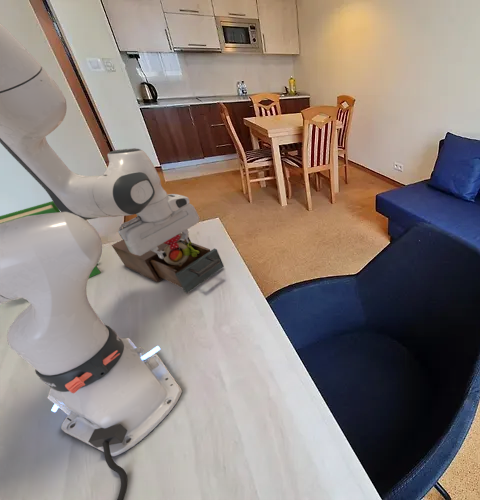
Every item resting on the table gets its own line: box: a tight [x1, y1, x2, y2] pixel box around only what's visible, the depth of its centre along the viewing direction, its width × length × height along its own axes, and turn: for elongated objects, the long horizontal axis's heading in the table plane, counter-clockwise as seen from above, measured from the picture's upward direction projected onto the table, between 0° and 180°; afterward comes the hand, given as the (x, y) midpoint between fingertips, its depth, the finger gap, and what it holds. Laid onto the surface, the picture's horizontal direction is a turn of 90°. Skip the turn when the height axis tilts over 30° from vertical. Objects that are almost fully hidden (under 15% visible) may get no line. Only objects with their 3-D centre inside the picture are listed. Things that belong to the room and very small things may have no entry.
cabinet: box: [111, 233, 192, 283], centre depth 100 cm, size 20×15×9 cm
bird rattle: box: [164, 235, 200, 267], centre depth 90 cm, size 6×11×9 cm
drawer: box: [149, 242, 225, 294], centre depth 92 cm, size 23×13×7 cm, turn 59°
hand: (175, 250), depth 90 cm, fingers closed on bird rattle, 6 cm apart
